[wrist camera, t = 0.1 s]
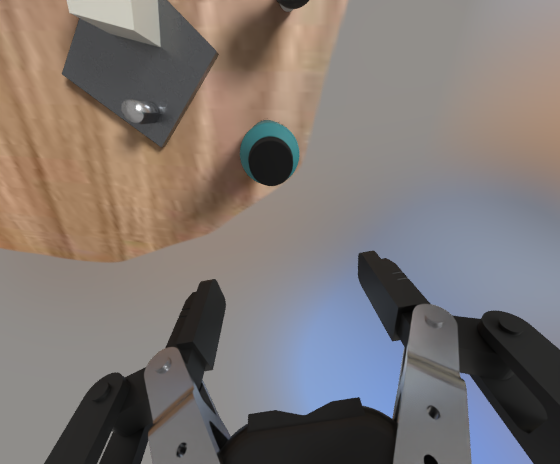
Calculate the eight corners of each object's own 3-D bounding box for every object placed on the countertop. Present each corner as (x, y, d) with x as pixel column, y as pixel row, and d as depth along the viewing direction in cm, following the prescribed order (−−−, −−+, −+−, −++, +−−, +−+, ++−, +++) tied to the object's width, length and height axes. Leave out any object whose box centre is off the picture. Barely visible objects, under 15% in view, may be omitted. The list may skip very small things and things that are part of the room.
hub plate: (71, 75, 29) (28, 67, 23) (114, -54, 23) (70, -102, 18) (165, 146, 34) (147, 151, 29) (218, 54, 28) (208, 41, 23)
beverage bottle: (241, 144, 34) (216, 175, 17) (263, 108, 32) (260, 101, 15) (272, 167, 37) (277, 215, 19) (295, 135, 34) (324, 157, 17)
